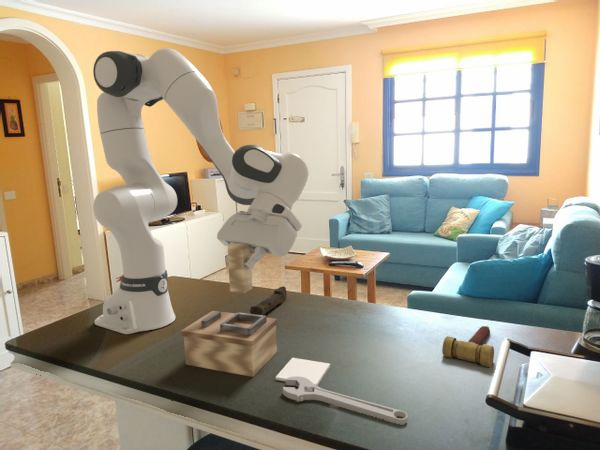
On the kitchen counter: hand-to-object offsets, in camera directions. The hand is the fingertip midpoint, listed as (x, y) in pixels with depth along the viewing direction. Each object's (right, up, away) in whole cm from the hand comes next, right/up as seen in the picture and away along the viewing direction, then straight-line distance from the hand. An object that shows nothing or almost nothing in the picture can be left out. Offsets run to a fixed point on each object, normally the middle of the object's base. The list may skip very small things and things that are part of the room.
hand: (237, 264), depth 96 cm
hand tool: (+5, -17, +37) cm, 41 cm away
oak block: (+1, -6, +2) cm, 6 cm away
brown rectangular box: (-2, -22, +6) cm, 23 cm away
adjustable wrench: (+21, -25, -14) cm, 36 cm away
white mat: (+14, -23, -2) cm, 27 cm away
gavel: (+55, -20, +8) cm, 60 cm away
